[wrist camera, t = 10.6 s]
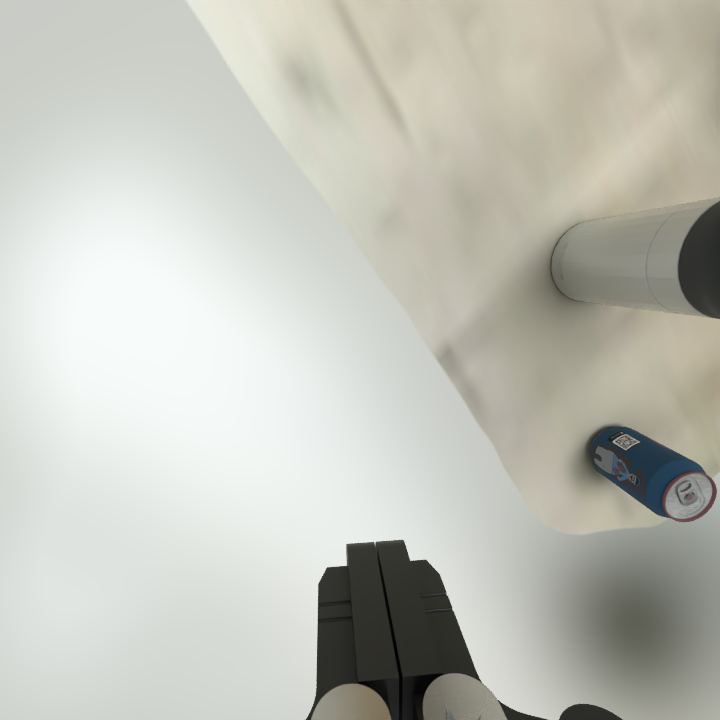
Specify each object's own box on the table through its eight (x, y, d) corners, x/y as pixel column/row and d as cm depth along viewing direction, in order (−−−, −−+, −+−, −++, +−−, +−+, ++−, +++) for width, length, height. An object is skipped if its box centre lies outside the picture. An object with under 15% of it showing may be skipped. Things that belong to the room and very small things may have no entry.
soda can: (642, 454, 54) (730, 506, 42) (596, 480, 54) (671, 538, 42) (624, 413, 52) (711, 455, 40) (577, 439, 52) (650, 489, 41)
